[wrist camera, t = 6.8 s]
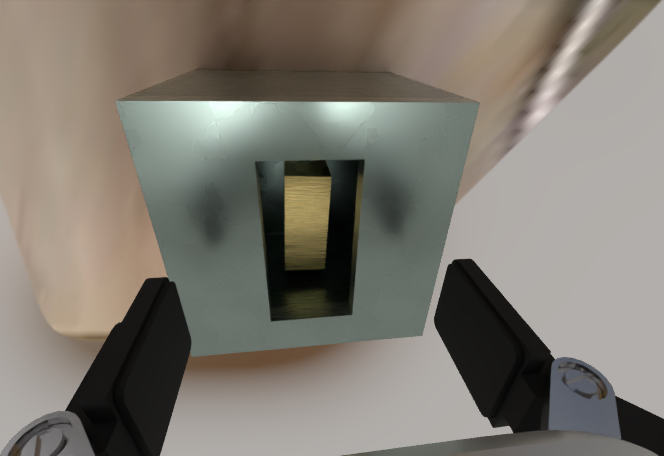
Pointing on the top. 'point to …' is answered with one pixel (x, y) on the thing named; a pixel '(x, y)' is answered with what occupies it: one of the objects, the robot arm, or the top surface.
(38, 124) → the top surface
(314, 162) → the wooden block
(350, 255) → the coin box
